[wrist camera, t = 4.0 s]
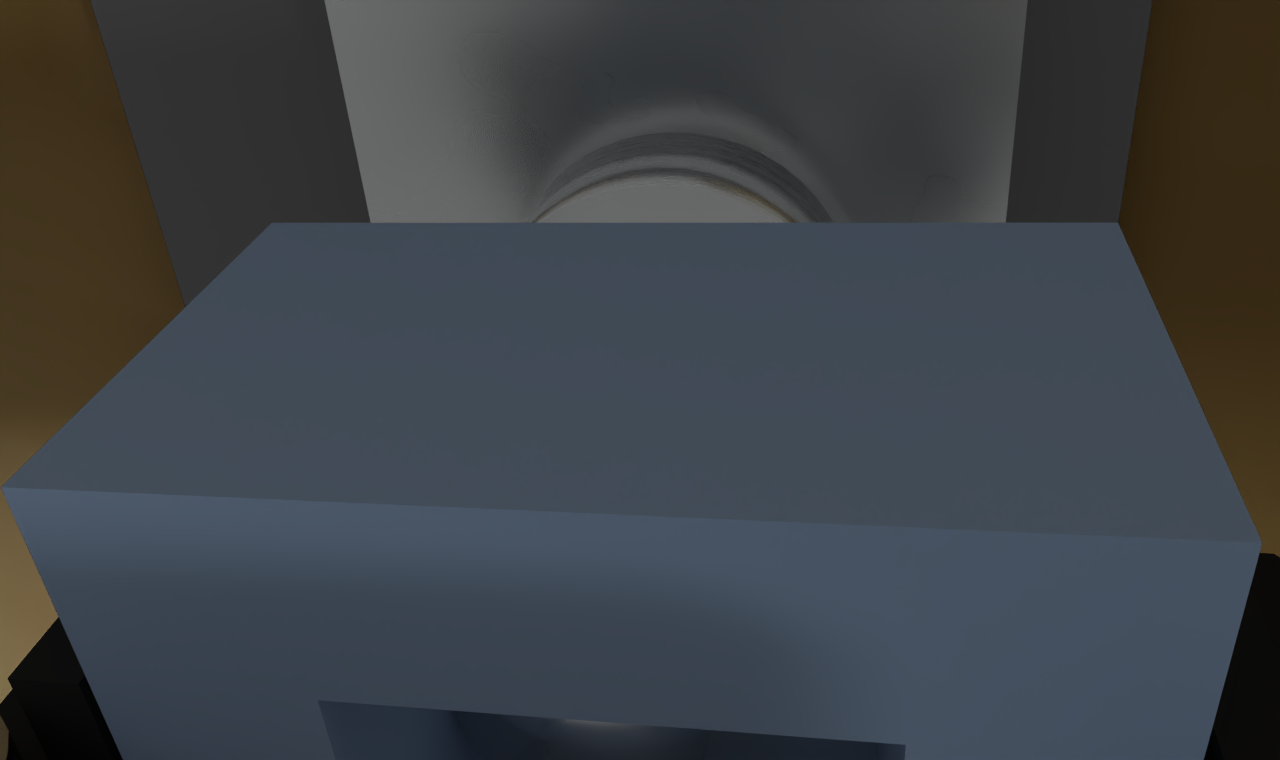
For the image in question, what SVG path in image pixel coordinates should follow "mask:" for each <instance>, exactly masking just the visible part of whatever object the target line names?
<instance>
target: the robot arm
mask: <svg viewBox="0 0 1280 760" xmlns="http://www.w3.org/2000/svg"><path fill="white" fill-rule="evenodd" d="M8 680H9V682H10V684H11V686H12V688H13V689H12V690H11V692H10V693H9V694H8V695H7V697H6V698H5V699H4V700H3V701H2V703H1V704H0V760H123V759H122V756H121V754H120V752H119V750H118V748H117V745H116V743H115V741H114V739H113V736H112V734H111V732H110V730H109V727H108V725H107V723H106V721H105V719H104V716H103V714H102V712H101V710H100V707H99V705H98V703H97V701H96V698H95V696H94V694H93V692H92V690H91V687H90V685H89V683H88V681H87V678H86V676H85V674H84V672H83V670H82V667H81V665H80V663H79V661H78V658H77V656H76V654H75V652H74V649H73V647H72V645H71V643H70V641H69V638H68V636H67V634H66V632H65V629H64V627H63V625H62V623H61V620H60V618H59V617H58V618H57V620H56V621H55V622H54V623H53V624H52V626H51V627H50V628H49V629H48V630H47V632H46V633H45V634H44V635H43V636H42V638H41V639H40V640H39V641H38V642H37V644H36V645H35V646H34V647H33V649H32V650H31V651H30V652H29V653H28V655H27V656H26V657H25V658H24V659H23V661H22V662H21V663H20V664H19V665H18V667H17V668H16V669H15V670H14V671H13V673H12V674H11V675H10V676H9V677H8ZM1204 760H1280V557H1278V556H1276V555H1275V554H1268V553H1259V557H1258V561H1257V564H1256V568H1255V572H1254V575H1253V579H1252V583H1251V587H1250V590H1249V594H1248V598H1247V601H1246V605H1245V609H1244V612H1243V616H1242V620H1241V624H1240V627H1239V631H1238V635H1237V638H1236V642H1235V646H1234V650H1233V653H1232V657H1231V661H1230V664H1229V668H1228V672H1227V675H1226V679H1225V683H1224V687H1223V690H1222V694H1221V698H1220V701H1219V705H1218V709H1217V713H1216V716H1215V720H1214V724H1213V727H1212V731H1211V735H1210V738H1209V742H1208V746H1207V750H1206V753H1205V757H1204Z"/></svg>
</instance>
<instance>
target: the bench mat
mask: <svg viewBox="0 0 1280 760" xmlns="http://www.w3.org/2000/svg"><path fill="white" fill-rule="evenodd" d="M90 1H91V4H92V7H93V11H94V14H95V17H96V20H97V23H98V27H99V30H100V33H101V36H102V40H103V43H104V46H105V49H106V53H107V56H108V59H109V62H110V65H111V69H112V72H113V75H114V78H115V82H116V85H117V88H118V91H119V94H120V98H121V101H122V104H123V107H124V111H125V114H126V117H127V120H128V124H129V127H130V130H131V133H132V136H133V140H134V143H135V146H136V149H137V153H138V156H139V159H140V162H141V165H142V169H143V172H144V175H145V178H146V182H147V185H148V188H149V191H150V195H151V198H152V201H153V204H154V207H155V211H156V214H157V217H158V220H159V224H160V227H161V230H162V233H163V236H164V240H165V243H166V246H167V249H168V253H169V256H170V259H171V262H172V266H173V269H174V272H175V275H176V278H177V282H178V285H179V288H180V291H181V295H182V298H183V301H184V304H185V307H186V306H187V305H188V304H189V303H190V302H191V301H192V300H193V299H194V298H195V297H196V296H197V295H198V294H199V293H201V292H202V291H203V290H204V289H205V288H206V287H207V286H208V285H209V284H210V283H211V282H212V281H213V280H214V279H215V278H216V277H217V276H218V275H219V274H220V273H221V272H222V271H223V270H224V269H225V268H226V267H227V266H228V265H229V264H230V263H231V262H232V261H233V260H234V259H235V258H236V257H237V256H238V255H239V254H241V253H242V252H243V251H244V250H245V249H246V248H247V247H248V246H249V245H250V244H251V243H252V242H253V241H254V240H255V239H256V238H257V237H258V236H259V235H260V234H261V233H262V232H263V231H264V230H265V229H266V228H267V227H268V226H269V225H270V224H271V223H371V222H370V217H369V212H368V207H367V203H366V198H365V193H364V188H363V183H362V179H361V174H360V169H359V164H358V159H357V154H356V150H355V145H354V140H353V135H352V130H351V126H350V121H349V116H348V111H347V106H346V102H345V97H344V92H343V87H342V82H341V77H340V73H339V68H338V63H337V58H336V53H335V49H334V44H333V39H332V34H331V29H330V25H329V20H328V15H327V10H326V5H325V0H90ZM1151 7H1152V0H1028V2H1027V12H1026V23H1025V33H1024V43H1023V53H1022V63H1021V73H1020V83H1019V93H1018V103H1017V114H1016V124H1015V134H1014V144H1013V154H1012V164H1011V174H1010V184H1009V194H1008V205H1007V215H1006V223H1118V222H1119V215H1120V209H1121V202H1122V196H1123V189H1124V183H1125V176H1126V170H1127V163H1128V157H1129V150H1130V143H1131V137H1132V130H1133V124H1134V117H1135V111H1136V104H1137V98H1138V91H1139V85H1140V78H1141V72H1142V65H1143V59H1144V52H1145V46H1146V39H1147V33H1148V26H1149V20H1150V13H1151Z"/></svg>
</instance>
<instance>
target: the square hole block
mask: <svg viewBox="0 0 1280 760" xmlns="http://www.w3.org/2000/svg"><path fill="white" fill-rule="evenodd" d="M1 489H2V491H3V493H4V496H5V498H6V500H7V502H8V505H9V507H10V509H11V511H12V513H13V516H14V518H15V520H16V522H17V525H18V527H19V529H20V531H21V534H22V536H23V538H24V540H25V542H26V545H27V547H28V549H29V551H30V554H31V556H32V558H33V560H34V563H35V565H36V567H37V569H38V571H39V574H40V576H41V578H42V580H43V583H44V585H45V587H46V589H47V592H48V594H49V596H50V598H51V600H52V603H53V605H54V607H55V609H56V612H57V614H58V616H59V618H60V620H61V623H62V625H63V627H64V629H65V632H66V634H67V636H68V638H69V641H70V643H71V645H72V647H73V649H74V652H75V654H76V656H77V658H78V661H79V663H80V665H81V667H82V670H83V672H84V674H85V676H86V678H87V681H88V683H89V685H90V687H91V690H92V692H93V694H94V696H95V698H96V701H97V703H98V705H99V707H100V710H101V712H102V714H103V716H104V719H105V721H106V723H107V725H108V727H109V730H110V732H111V734H112V736H113V739H114V741H115V743H116V745H117V748H118V750H119V752H120V754H121V756H122V759H123V760H481V759H480V757H479V756H478V755H477V754H476V753H475V752H474V751H473V749H472V748H471V746H470V745H469V743H468V742H467V740H466V739H465V737H464V735H463V733H462V731H461V729H460V726H459V723H458V720H457V717H456V711H465V712H479V713H492V714H505V715H518V716H531V717H545V718H558V719H571V720H584V721H598V722H611V723H624V724H637V725H651V726H664V727H677V728H690V729H703V730H710V733H709V742H708V746H707V751H706V754H705V756H704V758H703V760H1204V757H1205V753H1206V750H1207V746H1208V742H1209V738H1210V735H1211V731H1212V727H1213V724H1214V720H1215V716H1216V713H1217V709H1218V705H1219V701H1220V698H1221V694H1222V690H1223V687H1224V683H1225V679H1226V675H1227V672H1228V668H1229V664H1230V661H1231V657H1232V653H1233V650H1234V646H1235V642H1236V638H1237V635H1238V631H1239V627H1240V624H1241V620H1242V616H1243V612H1244V609H1245V605H1246V601H1247V598H1248V594H1249V590H1250V587H1251V583H1252V579H1253V575H1254V572H1255V568H1256V564H1257V561H1258V557H1259V553H1260V549H1261V546H1262V541H1261V539H1260V537H1259V534H1258V532H1257V530H1256V528H1255V526H1254V523H1253V521H1252V519H1251V517H1250V514H1249V512H1248V510H1247V508H1246V506H1245V503H1244V501H1243V499H1242V497H1241V495H1240V492H1239V490H1238V488H1237V486H1236V483H1235V481H1234V479H1233V477H1232V475H1231V472H1230V470H1229V468H1228V466H1227V463H1226V461H1225V459H1224V457H1223V455H1222V452H1221V450H1220V448H1219V446H1218V444H1217V441H1216V439H1215V437H1214V435H1213V432H1212V430H1211V428H1210V426H1209V424H1208V421H1207V419H1206V417H1205V415H1204V413H1203V410H1202V408H1201V406H1200V404H1199V401H1198V399H1197V397H1196V395H1195V393H1194V390H1193V388H1192V386H1191V384H1190V381H1189V379H1188V377H1187V375H1186V373H1185V370H1184V368H1183V366H1182V364H1181V362H1180V359H1179V357H1178V355H1177V353H1176V350H1175V348H1174V346H1173V344H1172V342H1171V339H1170V337H1169V335H1168V333H1167V330H1166V328H1165V326H1164V324H1163V322H1162V319H1161V317H1160V315H1159V313H1158V311H1157V308H1156V306H1155V304H1154V302H1153V299H1152V297H1151V295H1150V293H1149V291H1148V288H1147V286H1146V284H1145V282H1144V280H1143V277H1142V275H1141V273H1140V271H1139V268H1138V266H1137V264H1136V262H1135V260H1134V257H1133V255H1132V253H1131V251H1130V248H1129V246H1128V244H1127V242H1126V240H1125V237H1124V235H1123V233H1122V231H1121V229H1120V226H1119V224H1118V223H271V224H270V225H269V226H268V227H267V228H266V229H265V230H264V231H263V232H262V233H261V234H260V235H259V236H258V237H257V238H256V239H255V240H254V241H253V242H252V243H251V244H250V245H249V246H248V247H247V248H246V249H245V250H244V251H243V252H242V253H241V254H239V255H238V256H237V257H236V258H235V259H234V260H233V261H232V262H231V263H230V264H229V265H228V266H227V267H226V268H225V269H224V270H223V271H222V272H221V273H220V274H219V275H218V276H217V277H216V278H215V279H214V280H213V281H212V282H211V283H210V284H209V285H208V286H207V287H206V288H205V289H204V290H203V291H202V292H201V293H199V294H198V295H197V296H196V297H195V298H194V299H193V300H192V301H191V302H190V303H189V304H188V305H187V306H186V307H185V308H184V309H183V310H182V311H181V312H180V313H179V314H178V315H177V316H176V317H175V318H174V319H173V320H172V321H171V322H170V323H169V324H168V325H167V326H166V327H165V328H164V329H163V330H162V331H161V332H159V333H158V334H157V335H156V336H155V337H154V338H153V339H152V340H151V341H150V342H149V343H148V344H147V345H146V346H145V347H144V348H143V349H142V350H141V351H140V352H139V353H138V354H137V355H136V356H135V357H134V358H133V359H132V360H131V361H130V362H129V363H128V364H127V365H126V366H125V367H124V368H123V369H122V370H121V371H119V372H118V373H117V374H116V375H115V376H114V377H113V378H112V379H111V380H110V381H109V382H108V383H107V384H106V385H105V386H104V387H103V388H102V389H101V390H100V391H99V392H98V393H97V394H96V395H95V396H94V397H93V398H92V399H91V400H90V401H89V402H88V403H87V404H86V405H85V406H84V407H83V408H82V409H81V410H80V411H78V412H77V413H76V414H75V415H74V416H73V417H72V418H71V419H70V420H69V421H68V422H67V423H66V424H65V425H64V426H63V427H62V428H61V429H60V430H59V431H58V432H57V433H56V434H55V435H54V436H53V437H52V438H51V439H50V440H49V441H48V442H47V443H46V444H45V445H44V446H43V447H42V448H41V449H40V450H38V451H37V452H36V453H35V454H34V455H33V456H32V457H31V458H30V459H29V460H28V461H27V462H26V463H25V464H24V465H23V466H22V467H21V468H20V469H19V470H18V471H17V472H16V473H15V474H14V475H13V476H12V477H11V478H10V479H9V480H8V481H7V482H6V483H5V484H4V485H3V486H2V487H1Z"/></svg>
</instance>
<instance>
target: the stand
mask: <svg viewBox="0 0 1280 760" xmlns="http://www.w3.org/2000/svg"><path fill="white" fill-rule="evenodd" d="M1027 2H1028V0H325V5H326V10H327V15H328V20H329V25H330V29H331V34H332V39H333V44H334V49H335V53H336V58H337V63H338V68H339V73H340V77H341V82H342V87H343V92H344V97H345V102H346V106H347V111H348V116H349V121H350V126H351V130H352V135H353V140H354V145H355V150H356V154H357V159H358V164H359V169H360V174H361V179H362V183H363V188H364V193H365V198H366V203H367V207H368V212H369V217H370V222H371V223H1006V215H1007V205H1008V194H1009V184H1010V174H1011V164H1012V154H1013V144H1014V134H1015V124H1016V114H1017V103H1018V93H1019V83H1020V73H1021V63H1022V53H1023V43H1024V33H1025V23H1026V12H1027ZM456 717H457V720H458V723H459V726H460V729H461V731H462V733H463V735H464V737H465V739H466V740H467V742H468V743H469V745H470V746H471V748H472V749H473V751H474V752H475V753H476V754H477V755H478V756H479V757H480V759H481V760H703V758H704V756H705V754H706V751H707V746H708V742H709V733H710V730H703V729H690V728H677V727H664V726H651V725H637V724H624V723H611V722H598V721H584V720H571V719H558V718H545V717H531V716H518V715H505V714H492V713H479V712H465V711H456Z"/></svg>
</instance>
